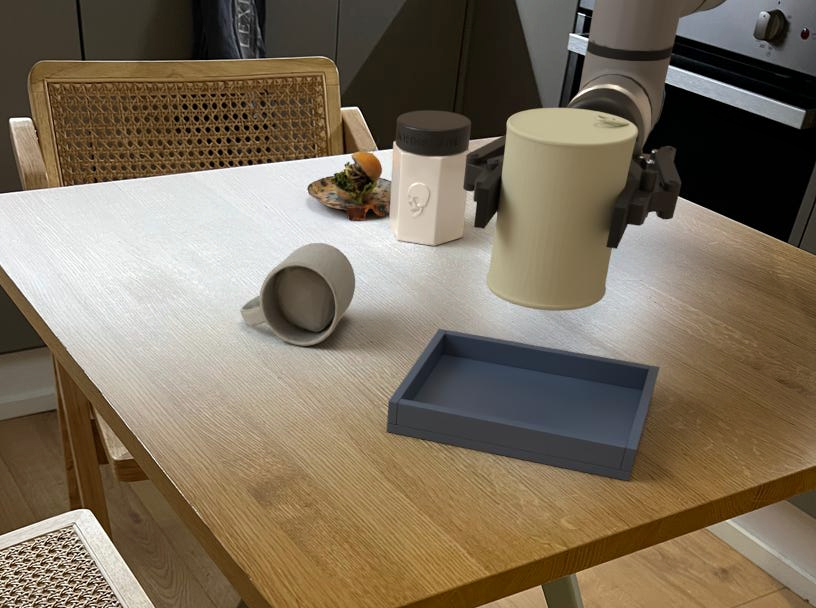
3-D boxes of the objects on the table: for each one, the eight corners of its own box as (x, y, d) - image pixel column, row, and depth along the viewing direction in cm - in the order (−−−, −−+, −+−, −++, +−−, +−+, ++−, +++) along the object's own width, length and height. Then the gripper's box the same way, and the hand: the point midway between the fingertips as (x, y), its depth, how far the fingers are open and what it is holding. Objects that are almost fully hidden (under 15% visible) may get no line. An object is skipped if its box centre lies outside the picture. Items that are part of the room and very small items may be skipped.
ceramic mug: (358, 315, 95) (359, 236, 90) (338, 351, 90) (338, 268, 84) (256, 305, 97) (251, 226, 92) (230, 339, 91) (223, 257, 86)
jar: (377, 238, 111) (382, 124, 103) (399, 216, 117) (406, 106, 109) (452, 250, 109) (463, 134, 101) (471, 226, 115) (483, 115, 107)
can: (624, 306, 73) (664, 133, 65) (509, 315, 71) (534, 138, 63) (577, 260, 80) (607, 98, 71) (470, 267, 78) (489, 102, 70)
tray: (652, 396, 84) (659, 366, 82) (628, 481, 74) (636, 449, 72) (436, 357, 89) (438, 328, 87) (386, 431, 79) (388, 400, 77)
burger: (318, 185, 125) (318, 121, 120) (408, 192, 124) (412, 128, 119) (296, 216, 117) (296, 149, 112) (393, 224, 115) (397, 157, 110)
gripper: (716, 198, 83) (690, 295, 68) (474, 165, 89) (397, 248, 73) (743, 101, 78) (721, 182, 63) (484, 72, 84) (404, 141, 68)
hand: (547, 218), depth 68 cm, fingers closed on can, 9 cm apart
